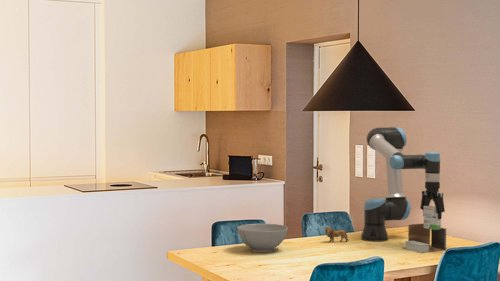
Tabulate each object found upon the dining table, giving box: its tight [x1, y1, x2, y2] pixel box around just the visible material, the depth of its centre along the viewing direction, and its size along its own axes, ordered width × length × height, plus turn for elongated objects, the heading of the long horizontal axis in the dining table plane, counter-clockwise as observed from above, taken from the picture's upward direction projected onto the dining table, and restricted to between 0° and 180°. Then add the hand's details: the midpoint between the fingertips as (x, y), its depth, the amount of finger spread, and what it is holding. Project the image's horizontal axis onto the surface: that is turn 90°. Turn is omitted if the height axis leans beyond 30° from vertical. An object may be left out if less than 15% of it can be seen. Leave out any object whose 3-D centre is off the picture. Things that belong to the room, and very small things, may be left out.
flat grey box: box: [404, 240, 430, 254], centre depth 379 cm, size 12×6×4 cm, turn 28°
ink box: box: [423, 205, 442, 230], centre depth 381 cm, size 9×5×12 cm, turn 26°
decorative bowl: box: [236, 223, 289, 253], centre depth 385 cm, size 27×27×12 cm
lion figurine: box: [324, 226, 350, 244], centre depth 409 cm, size 15×5×9 cm, turn 105°
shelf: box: [402, 222, 445, 254], centre depth 383 cm, size 16×19×13 cm
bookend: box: [430, 227, 448, 251], centre depth 386 cm, size 10×2×11 cm, turn 28°
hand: (432, 224), depth 381 cm, fingers closed on ink box, 9 cm apart
